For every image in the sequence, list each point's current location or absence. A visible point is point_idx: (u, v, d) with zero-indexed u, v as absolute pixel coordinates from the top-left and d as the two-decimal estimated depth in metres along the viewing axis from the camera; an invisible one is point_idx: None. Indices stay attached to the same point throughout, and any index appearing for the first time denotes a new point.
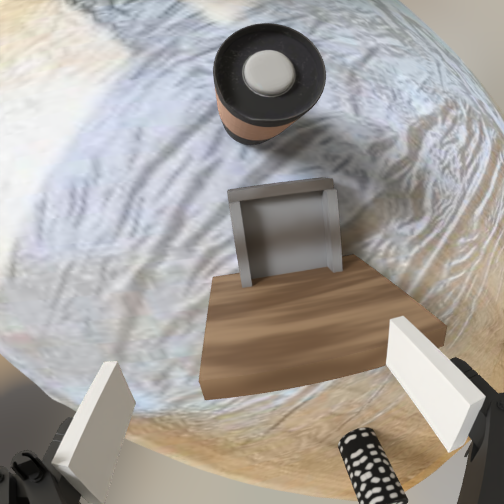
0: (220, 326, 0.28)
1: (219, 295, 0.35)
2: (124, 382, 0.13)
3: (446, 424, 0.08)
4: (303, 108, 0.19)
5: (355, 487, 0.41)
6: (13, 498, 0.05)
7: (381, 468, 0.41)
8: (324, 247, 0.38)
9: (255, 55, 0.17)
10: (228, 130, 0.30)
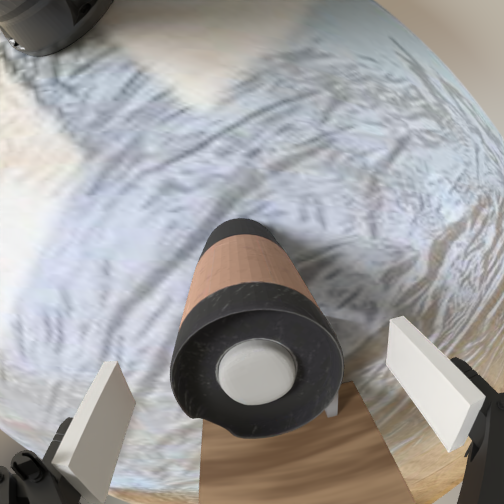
0: (212, 495, 0.23)
1: (211, 443, 0.30)
2: (124, 382, 0.13)
3: (446, 424, 0.08)
4: (302, 410, 0.13)
5: None
6: (13, 497, 0.05)
7: None
8: None
9: (234, 361, 0.12)
10: None
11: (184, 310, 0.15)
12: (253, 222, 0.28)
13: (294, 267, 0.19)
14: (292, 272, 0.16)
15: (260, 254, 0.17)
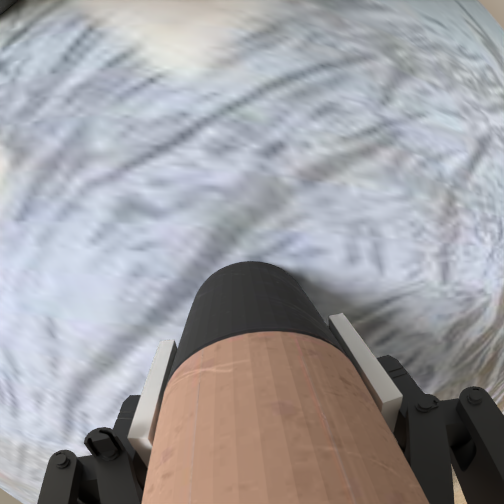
0: None
1: None
2: None
3: None
4: None
5: None
6: (75, 485, 0.06)
7: None
8: None
9: None
10: None
11: None
12: (273, 272, 0.16)
13: (385, 424, 0.07)
14: (407, 488, 0.04)
15: (327, 449, 0.05)
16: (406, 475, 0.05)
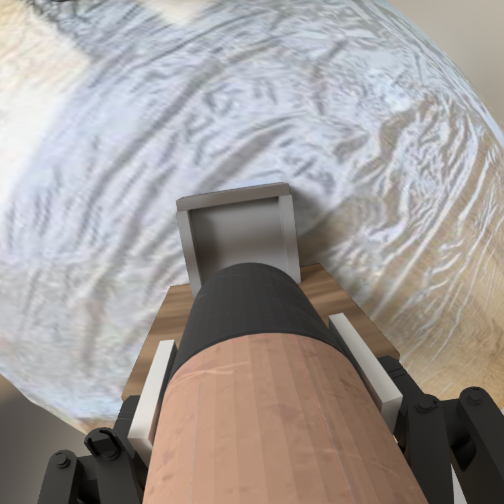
0: (158, 341, 0.26)
1: (169, 306, 0.33)
2: None
3: None
4: None
5: None
6: (75, 485, 0.06)
7: None
8: (282, 257, 0.37)
9: None
10: None
11: None
12: (274, 273, 0.16)
13: (385, 426, 0.07)
14: (407, 489, 0.04)
15: (327, 452, 0.05)
16: (406, 477, 0.05)
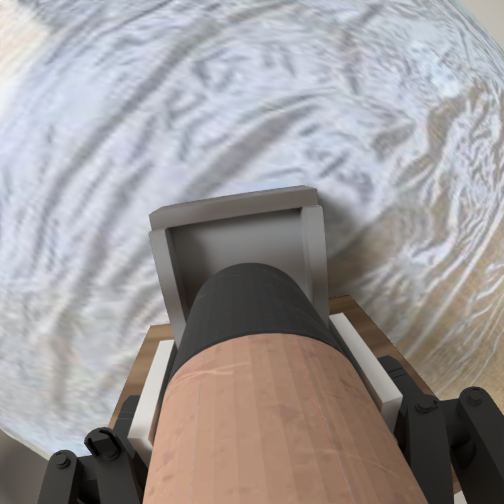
0: None
1: (146, 364, 0.22)
2: None
3: None
4: None
5: None
6: (75, 485, 0.06)
7: None
8: (304, 292, 0.26)
9: None
10: None
11: None
12: (274, 274, 0.16)
13: (385, 426, 0.07)
14: (407, 490, 0.04)
15: (328, 452, 0.05)
16: (406, 477, 0.05)
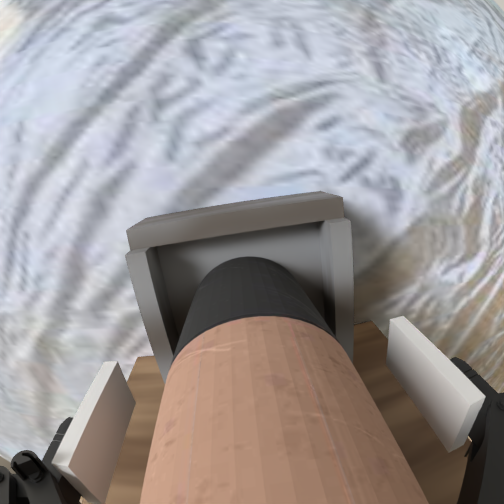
0: (106, 499, 0.10)
1: None
2: (124, 382, 0.13)
3: (446, 424, 0.08)
4: None
5: None
6: (13, 497, 0.05)
7: None
8: None
9: None
10: None
11: None
12: (271, 266, 0.17)
13: (372, 401, 0.08)
14: (390, 456, 0.05)
15: (314, 416, 0.06)
16: (390, 445, 0.05)
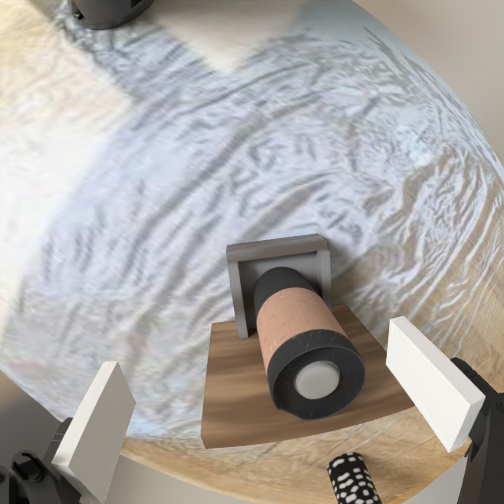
0: (218, 381, 0.30)
1: (218, 346, 0.37)
2: (124, 382, 0.13)
3: (446, 424, 0.08)
4: (340, 402, 0.22)
5: None
6: (13, 497, 0.05)
7: (366, 491, 0.42)
8: None
9: (308, 373, 0.21)
10: None
11: (269, 344, 0.24)
12: (293, 271, 0.37)
13: None
14: (333, 319, 0.25)
15: (313, 307, 0.26)
16: (334, 318, 0.26)
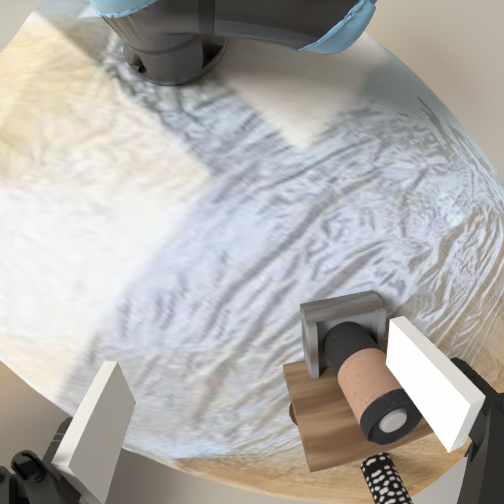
0: (308, 420, 0.37)
1: (296, 387, 0.44)
2: (124, 382, 0.13)
3: (446, 424, 0.08)
4: (403, 430, 0.29)
5: (375, 499, 0.50)
6: (13, 498, 0.05)
7: (395, 484, 0.50)
8: None
9: (390, 418, 0.27)
10: None
11: (360, 399, 0.31)
12: (357, 326, 0.44)
13: None
14: None
15: (387, 368, 0.33)
16: None
